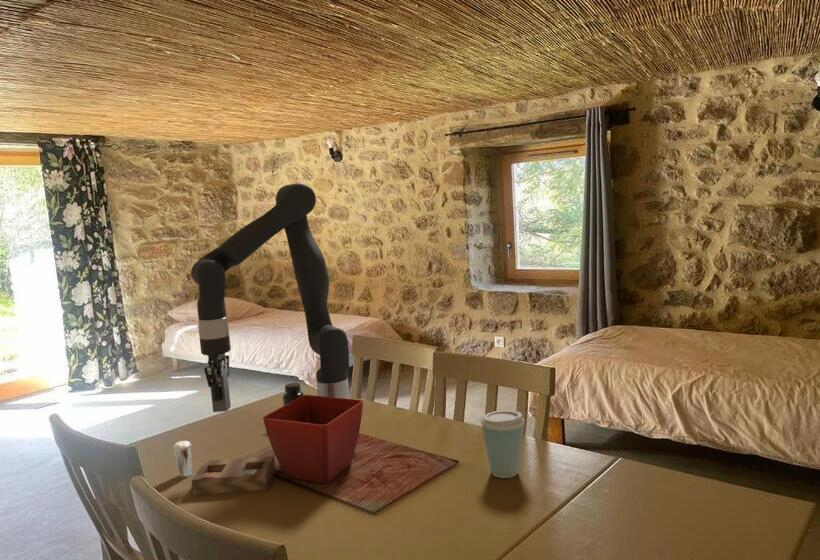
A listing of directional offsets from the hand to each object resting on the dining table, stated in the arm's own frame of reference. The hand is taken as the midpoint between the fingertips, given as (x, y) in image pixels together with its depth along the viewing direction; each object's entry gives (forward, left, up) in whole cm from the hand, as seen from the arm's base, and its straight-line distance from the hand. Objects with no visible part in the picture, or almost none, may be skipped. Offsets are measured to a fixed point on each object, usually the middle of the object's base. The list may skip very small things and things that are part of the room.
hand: (220, 397), depth 162 cm
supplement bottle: (-13, -33, -20) cm, 40 cm away
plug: (0, 0, -3) cm, 3 cm away
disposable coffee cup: (-73, +15, -20) cm, 77 cm away
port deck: (-5, +10, -19) cm, 22 cm away
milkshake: (+10, +3, -20) cm, 22 cm away
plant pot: (-26, +6, -20) cm, 33 cm away
